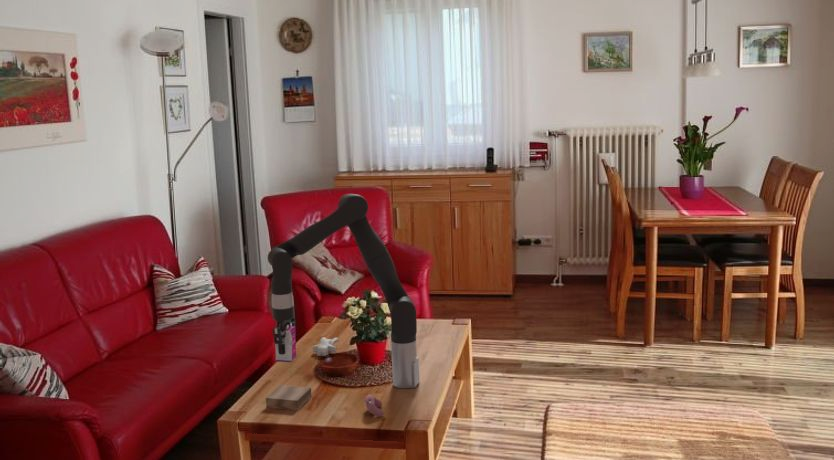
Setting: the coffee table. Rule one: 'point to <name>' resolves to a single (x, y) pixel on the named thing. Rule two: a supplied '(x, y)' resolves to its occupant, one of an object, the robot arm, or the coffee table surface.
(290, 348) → the supplement box
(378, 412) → the pink rounded lump
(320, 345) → the bunny figurine
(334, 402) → the coffee table surface
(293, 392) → the grey wooden square block
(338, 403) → the coffee table surface
